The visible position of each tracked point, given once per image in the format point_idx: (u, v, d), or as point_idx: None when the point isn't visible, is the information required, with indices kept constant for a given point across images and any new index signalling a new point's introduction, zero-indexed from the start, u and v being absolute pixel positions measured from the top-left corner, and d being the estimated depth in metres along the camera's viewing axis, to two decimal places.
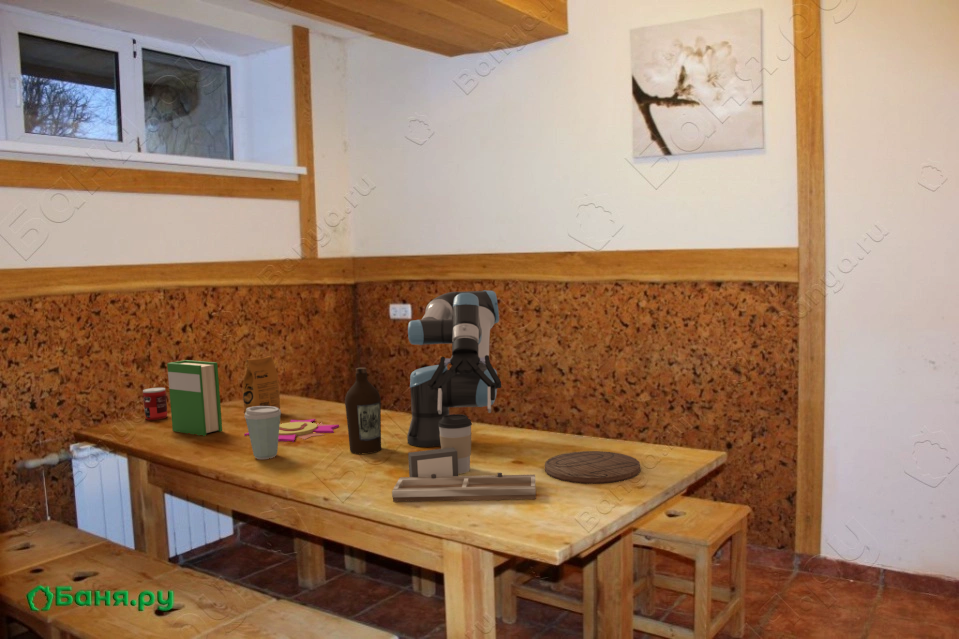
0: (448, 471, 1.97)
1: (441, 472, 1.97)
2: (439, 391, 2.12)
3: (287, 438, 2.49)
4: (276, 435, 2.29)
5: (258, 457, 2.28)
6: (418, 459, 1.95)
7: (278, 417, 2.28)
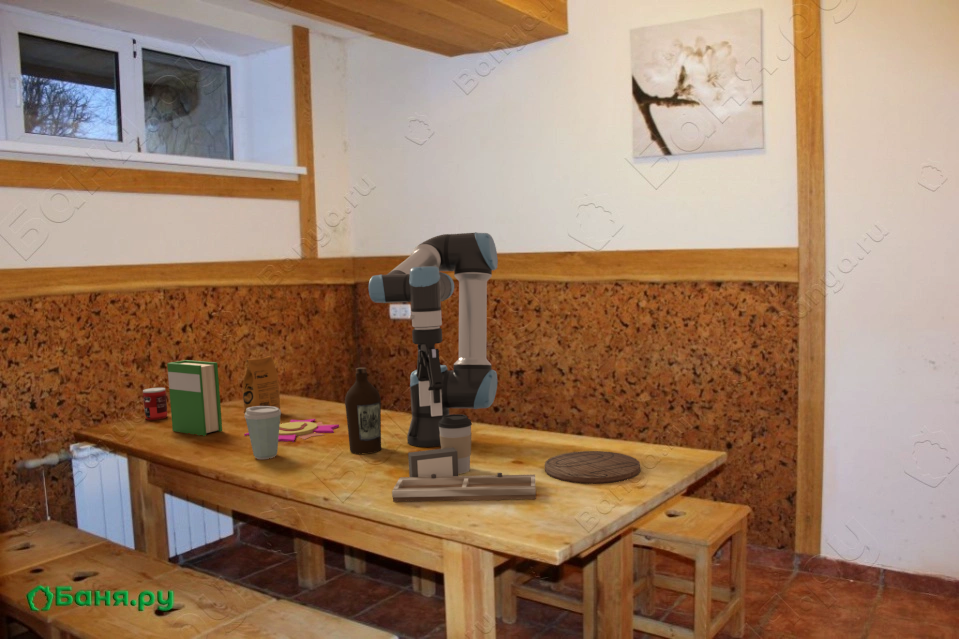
0: (448, 471, 1.97)
1: (441, 472, 1.97)
2: (419, 385, 2.03)
3: (287, 438, 2.49)
4: (276, 435, 2.29)
5: (258, 457, 2.28)
6: (418, 459, 1.95)
7: (278, 417, 2.28)
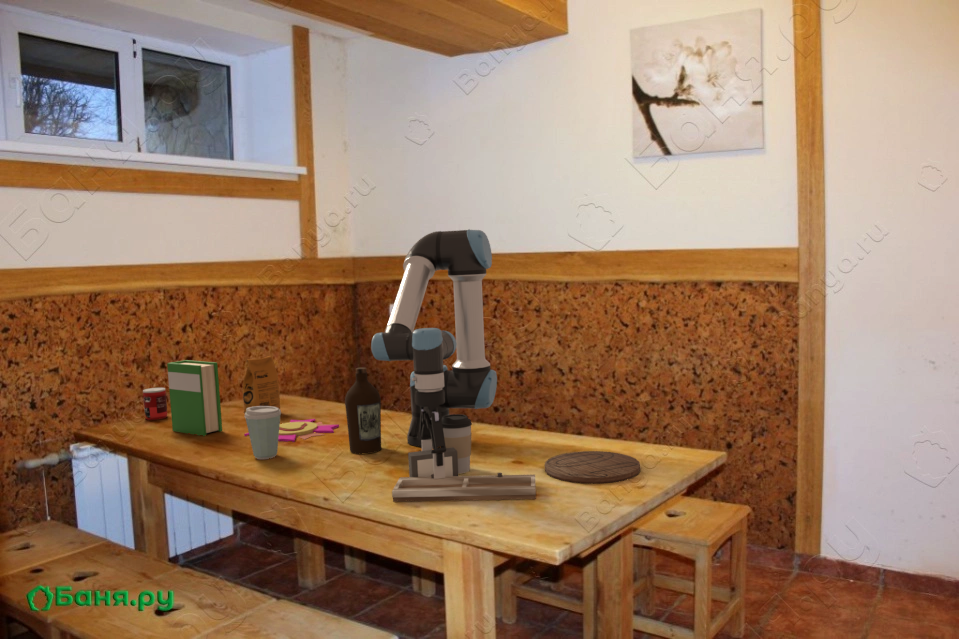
0: (448, 471, 1.97)
1: None
2: (421, 444, 2.04)
3: (287, 438, 2.49)
4: (276, 435, 2.29)
5: (258, 457, 2.28)
6: (418, 459, 1.95)
7: (278, 417, 2.28)
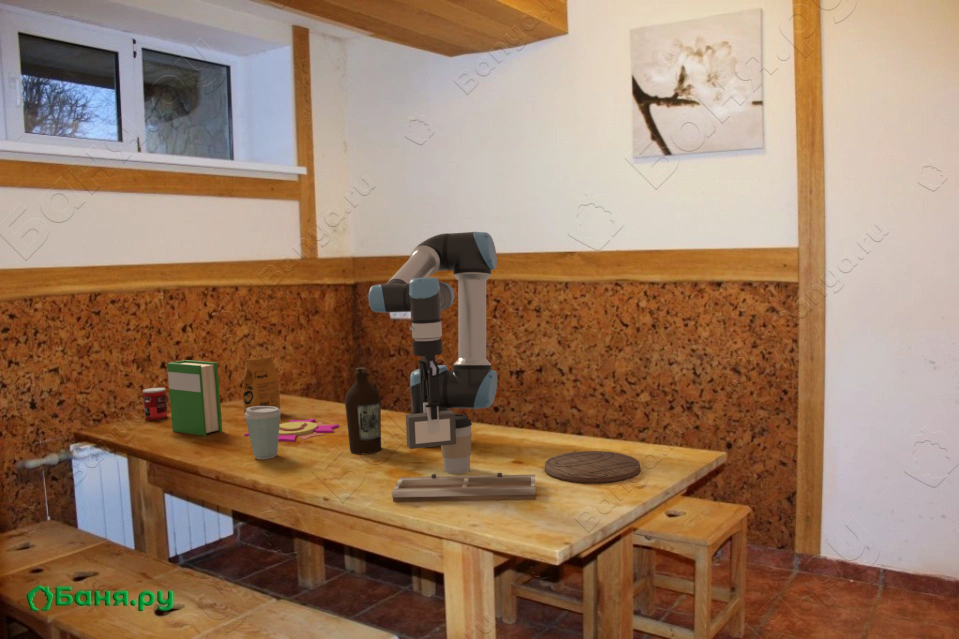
0: (446, 433, 1.97)
1: (439, 434, 1.96)
2: (423, 406, 1.99)
3: (287, 438, 2.49)
4: (276, 435, 2.29)
5: (258, 457, 2.28)
6: (416, 421, 1.94)
7: (278, 417, 2.28)
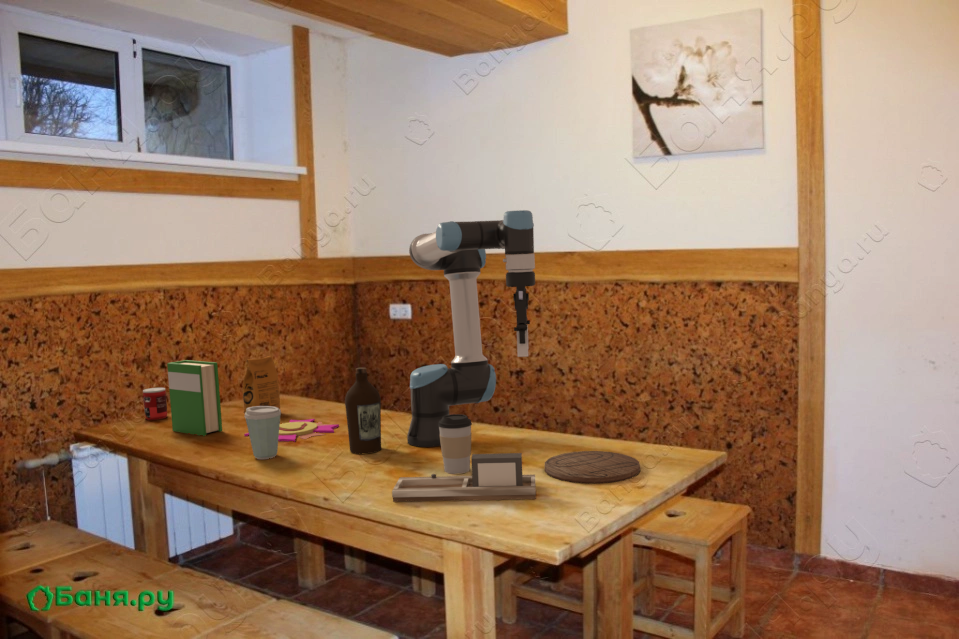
0: (511, 478, 1.85)
1: (503, 478, 1.85)
2: None
3: (288, 438, 2.49)
4: (276, 435, 2.29)
5: (258, 457, 2.28)
6: (479, 462, 1.85)
7: (278, 417, 2.28)
